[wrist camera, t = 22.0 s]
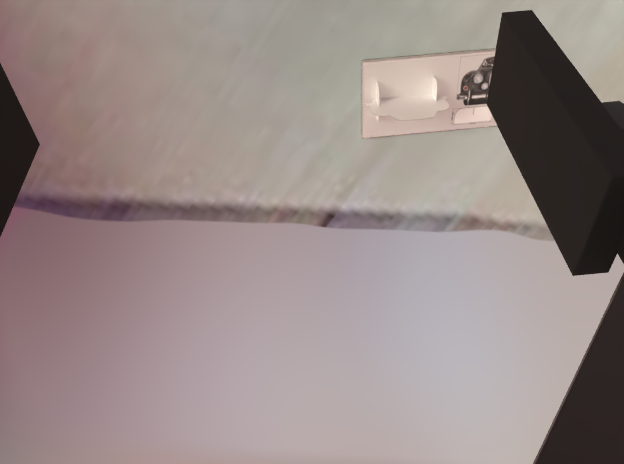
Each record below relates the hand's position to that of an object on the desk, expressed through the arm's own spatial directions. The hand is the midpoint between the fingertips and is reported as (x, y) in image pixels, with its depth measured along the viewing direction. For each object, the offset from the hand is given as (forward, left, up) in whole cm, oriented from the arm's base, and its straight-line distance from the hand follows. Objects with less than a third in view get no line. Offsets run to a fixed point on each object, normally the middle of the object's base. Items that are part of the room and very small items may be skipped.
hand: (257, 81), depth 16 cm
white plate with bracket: (-19, +9, -29) cm, 36 cm away
